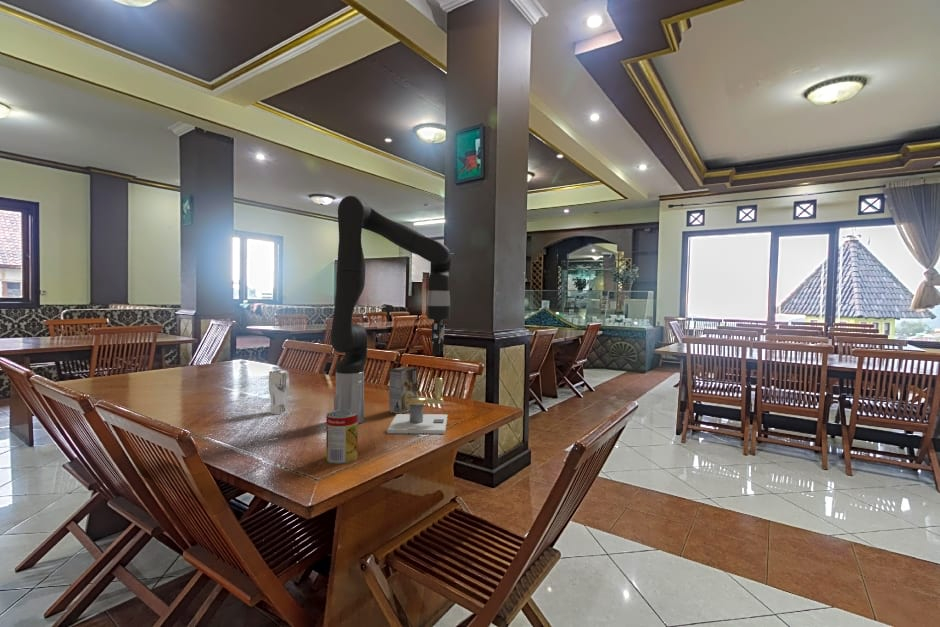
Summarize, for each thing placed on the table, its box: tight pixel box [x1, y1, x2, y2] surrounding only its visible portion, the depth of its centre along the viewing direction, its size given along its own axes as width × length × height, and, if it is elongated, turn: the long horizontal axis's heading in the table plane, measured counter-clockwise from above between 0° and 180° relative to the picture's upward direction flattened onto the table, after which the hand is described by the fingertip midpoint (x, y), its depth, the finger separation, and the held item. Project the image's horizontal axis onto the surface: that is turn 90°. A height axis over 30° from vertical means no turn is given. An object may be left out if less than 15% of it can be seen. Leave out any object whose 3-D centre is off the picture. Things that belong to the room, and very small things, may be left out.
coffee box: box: [388, 366, 418, 414], centre depth 162 cm, size 9×6×16 cm
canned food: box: [326, 409, 359, 465], centre depth 114 cm, size 8×8×12 cm
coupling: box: [406, 377, 444, 406], centre depth 144 cm, size 7×12×8 cm, turn 83°
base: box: [386, 404, 448, 435], centre depth 144 cm, size 18×18×7 cm
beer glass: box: [268, 369, 290, 415], centre depth 158 cm, size 7×7×15 cm
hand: (437, 353), depth 144 cm, fingers open, 8 cm apart
